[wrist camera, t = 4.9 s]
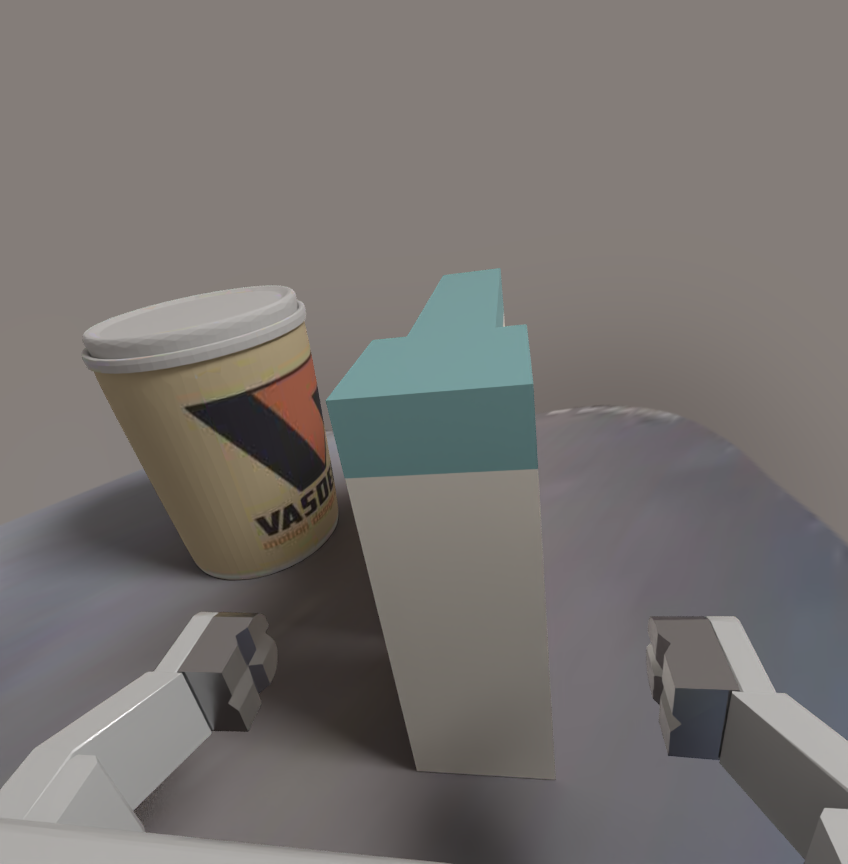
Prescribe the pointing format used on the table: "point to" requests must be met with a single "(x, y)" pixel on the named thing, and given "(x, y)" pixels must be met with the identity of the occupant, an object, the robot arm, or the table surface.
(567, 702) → the table surface
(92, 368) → the coffee cup
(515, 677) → the white teal-topped block
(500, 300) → the teal and white box
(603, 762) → the table surface
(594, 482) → the table surface
